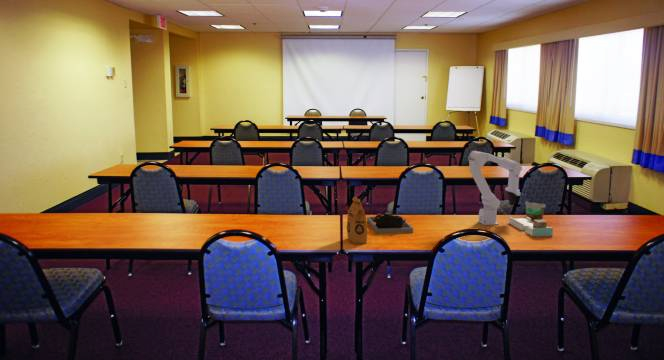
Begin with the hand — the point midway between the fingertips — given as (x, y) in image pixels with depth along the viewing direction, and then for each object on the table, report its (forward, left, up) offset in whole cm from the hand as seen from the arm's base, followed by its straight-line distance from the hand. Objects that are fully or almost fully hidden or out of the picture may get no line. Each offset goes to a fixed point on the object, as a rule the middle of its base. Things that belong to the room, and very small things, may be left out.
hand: (511, 205), depth 299 cm
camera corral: (-74, -2, -10) cm, 75 cm away
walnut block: (+3, -26, -7) cm, 27 cm away
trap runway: (+3, -16, -10) cm, 19 cm away
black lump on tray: (-75, -7, -10) cm, 76 cm away
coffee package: (-97, -26, -10) cm, 101 cm away
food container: (+16, +4, -10) cm, 19 cm away
